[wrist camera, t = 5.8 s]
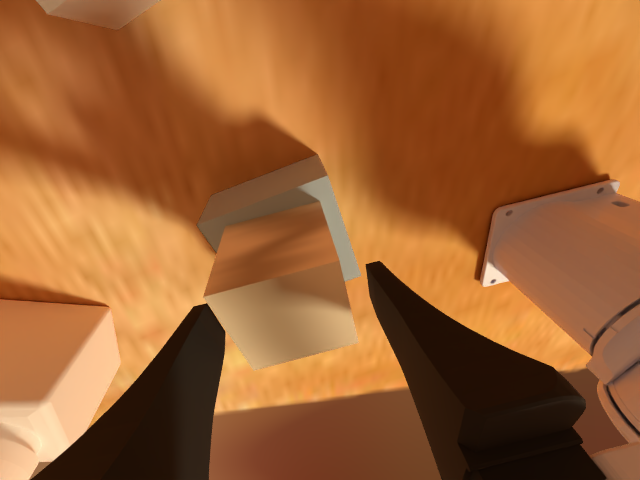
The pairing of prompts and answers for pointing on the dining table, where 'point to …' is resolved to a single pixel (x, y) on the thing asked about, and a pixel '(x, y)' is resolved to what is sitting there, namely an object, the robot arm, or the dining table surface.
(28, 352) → the medicine bottle
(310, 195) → the slate block
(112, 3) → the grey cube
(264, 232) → the maple cube
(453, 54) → the dining table surface
